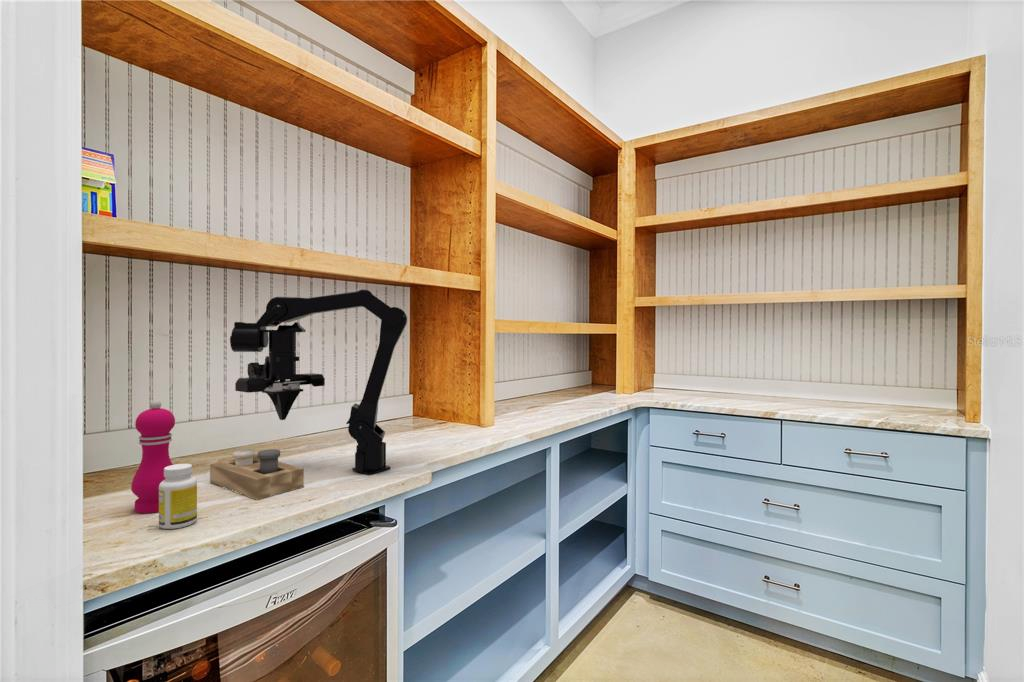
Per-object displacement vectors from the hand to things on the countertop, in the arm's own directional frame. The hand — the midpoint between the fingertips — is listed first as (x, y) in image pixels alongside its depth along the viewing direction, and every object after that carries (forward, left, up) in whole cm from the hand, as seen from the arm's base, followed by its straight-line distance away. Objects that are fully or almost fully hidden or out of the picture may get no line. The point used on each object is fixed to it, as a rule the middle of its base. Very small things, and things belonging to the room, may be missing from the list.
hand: (282, 419), depth 115 cm
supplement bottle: (+27, +14, -13) cm, 33 cm away
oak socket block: (+8, +4, -12) cm, 15 cm away
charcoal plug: (+8, +9, -10) cm, 16 cm away
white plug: (+8, -1, -12) cm, 14 cm away
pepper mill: (+26, +2, -13) cm, 29 cm away
